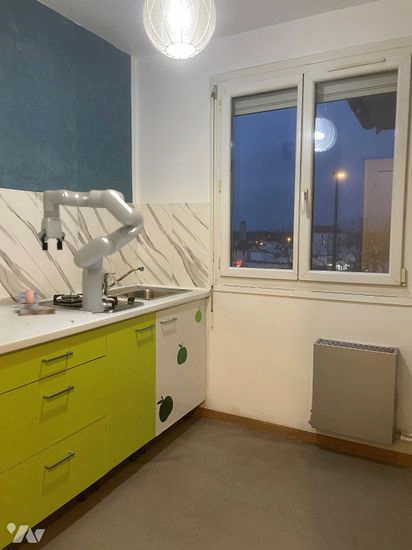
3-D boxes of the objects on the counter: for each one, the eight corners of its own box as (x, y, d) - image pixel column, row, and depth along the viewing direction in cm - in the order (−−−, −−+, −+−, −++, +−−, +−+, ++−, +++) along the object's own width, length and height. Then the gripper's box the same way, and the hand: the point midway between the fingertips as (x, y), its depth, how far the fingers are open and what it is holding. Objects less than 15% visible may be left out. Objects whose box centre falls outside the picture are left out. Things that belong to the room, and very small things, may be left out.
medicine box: (20, 310, 207) (20, 293, 206) (21, 308, 211) (20, 291, 210) (37, 309, 209) (37, 292, 209) (37, 307, 214) (37, 291, 213)
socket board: (55, 311, 204) (55, 300, 204) (55, 316, 191) (55, 305, 191) (20, 313, 199) (19, 302, 198) (17, 318, 186) (17, 307, 185)
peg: (34, 310, 199) (33, 289, 198) (34, 311, 195) (34, 291, 194) (25, 310, 198) (24, 290, 196) (25, 312, 194) (24, 291, 193)
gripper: (58, 216, 213) (59, 249, 215) (32, 215, 198) (33, 250, 199) (69, 216, 210) (70, 249, 212) (43, 214, 195) (44, 250, 196)
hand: (52, 250), depth 206 cm, fingers open, 9 cm apart
